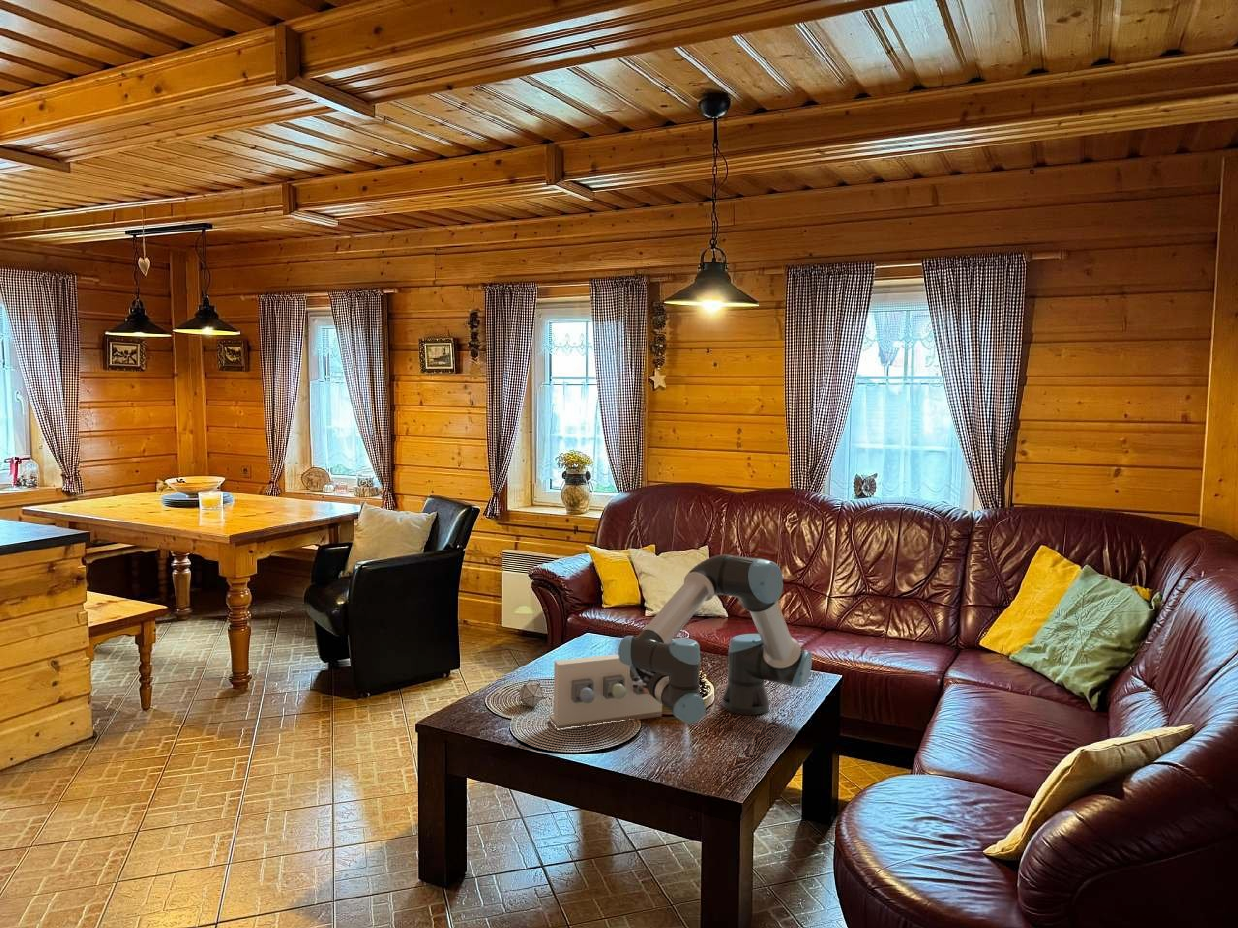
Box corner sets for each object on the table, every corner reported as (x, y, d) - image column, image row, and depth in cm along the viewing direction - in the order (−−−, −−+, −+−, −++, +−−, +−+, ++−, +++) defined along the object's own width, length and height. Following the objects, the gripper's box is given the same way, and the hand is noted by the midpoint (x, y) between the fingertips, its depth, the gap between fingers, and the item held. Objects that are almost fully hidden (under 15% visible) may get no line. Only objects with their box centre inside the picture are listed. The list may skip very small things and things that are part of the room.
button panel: (549, 720, 255) (550, 656, 253) (651, 706, 267) (652, 645, 266) (560, 734, 244) (561, 668, 243) (665, 719, 257) (667, 656, 255)
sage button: (611, 697, 248) (611, 684, 247) (623, 695, 249) (623, 682, 249) (613, 699, 246) (613, 686, 246) (626, 698, 247) (626, 684, 247)
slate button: (579, 701, 244) (579, 688, 244) (592, 699, 245) (592, 686, 245) (581, 703, 242) (581, 690, 242) (594, 702, 244) (594, 688, 243)
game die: (537, 717, 267) (555, 694, 264) (518, 714, 260) (536, 691, 258) (525, 696, 273) (543, 674, 270) (506, 693, 266) (525, 670, 264)
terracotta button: (641, 693, 252) (642, 680, 251) (654, 691, 253) (654, 678, 253) (644, 695, 250) (644, 682, 249) (656, 694, 251) (657, 681, 251)
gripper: (643, 706, 214) (609, 676, 236) (688, 700, 219) (651, 671, 241) (644, 678, 214) (610, 650, 235) (689, 672, 218) (652, 646, 240)
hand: (631, 661), depth 238 cm, fingers closed
